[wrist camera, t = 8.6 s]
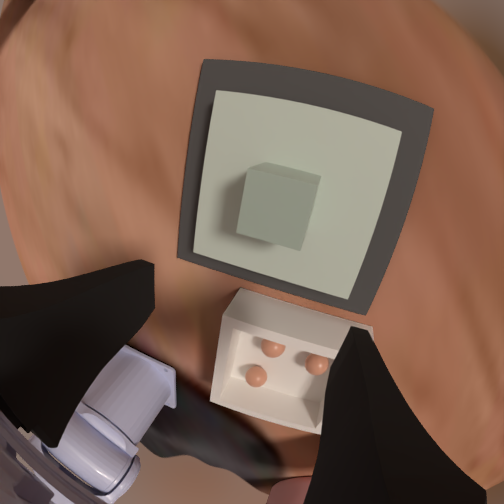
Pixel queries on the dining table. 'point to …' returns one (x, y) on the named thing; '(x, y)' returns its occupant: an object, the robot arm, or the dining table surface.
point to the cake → (289, 491)
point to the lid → (292, 189)
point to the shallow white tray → (276, 359)
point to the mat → (330, 97)
